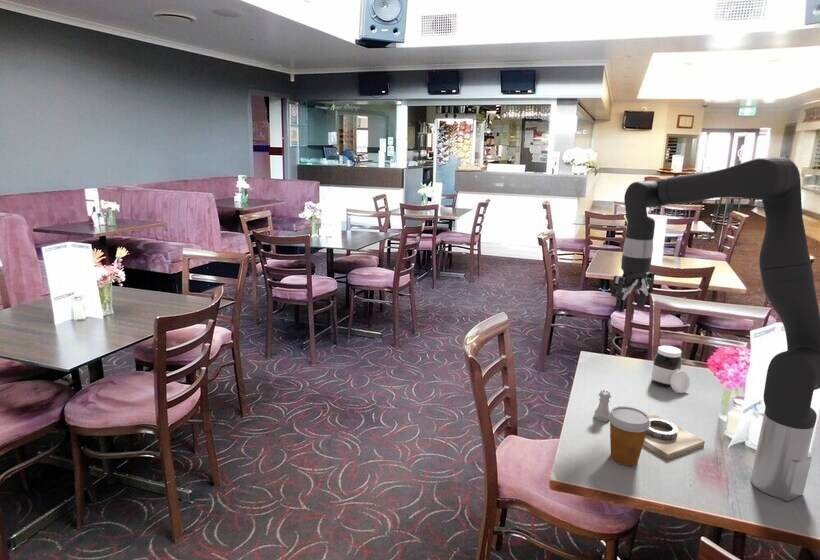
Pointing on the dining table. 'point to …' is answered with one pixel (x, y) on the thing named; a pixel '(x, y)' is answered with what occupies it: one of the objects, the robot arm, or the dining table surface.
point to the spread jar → (670, 369)
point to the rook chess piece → (603, 407)
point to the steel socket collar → (662, 435)
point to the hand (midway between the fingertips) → (630, 309)
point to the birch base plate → (672, 442)
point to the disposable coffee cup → (627, 434)
